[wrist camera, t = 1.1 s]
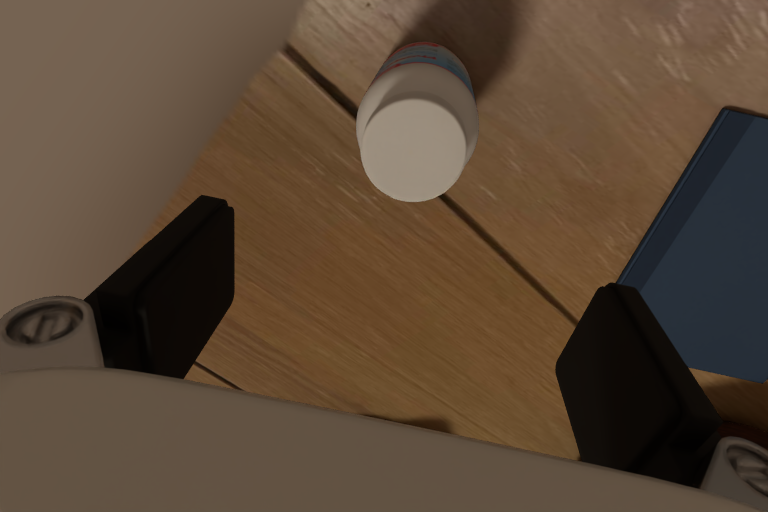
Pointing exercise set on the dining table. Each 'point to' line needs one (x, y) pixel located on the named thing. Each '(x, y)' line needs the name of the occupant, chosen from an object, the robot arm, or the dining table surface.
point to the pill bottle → (418, 123)
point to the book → (713, 253)
